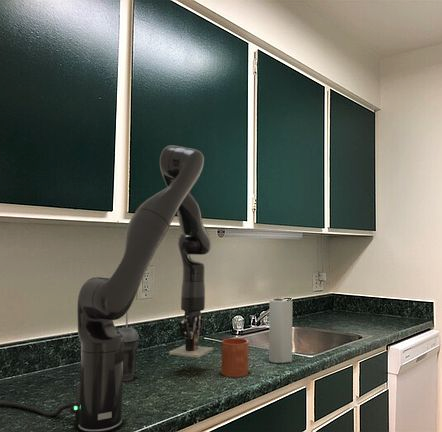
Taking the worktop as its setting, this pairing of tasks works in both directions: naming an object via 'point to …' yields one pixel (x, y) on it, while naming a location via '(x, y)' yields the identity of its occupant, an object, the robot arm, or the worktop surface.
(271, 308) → the paper towel roll
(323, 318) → the worktop surface
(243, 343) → the tumbler
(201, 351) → the lid
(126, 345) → the beverage cup
